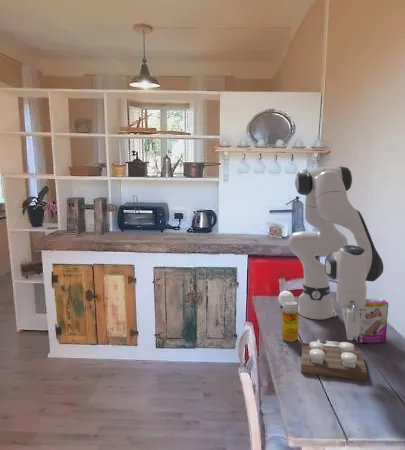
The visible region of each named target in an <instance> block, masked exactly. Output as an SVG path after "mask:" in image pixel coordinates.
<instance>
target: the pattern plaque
mask: <svg viewBox="0 0 405 450" xmlns="http://www.w3.org/2000/svg"><path fill="white" fill-rule="evenodd" d="M316 342H320V343H323V344H324V345H325V346H335V347H339V346H340V343H341V342H342V341H340V342H339V341H332V340H323V339H317V341H316Z"/></svg>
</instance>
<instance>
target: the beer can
mask: <svg viewBox="0 0 405 450" xmlns="http://www.w3.org/2000/svg"><path fill="white" fill-rule="evenodd" d="M298 305H299V303H298V302H297V301H295V300H294V301H284V303H283V306H282V305H281V306H282V311H281V312H282V313H281V314H282V315H281V316H282V317H281V319H282V320H281V321H282V323H281V324H282V325H281V338H282V339H283V340H284V341H286V342H290V343H291V342H292V343H294V342H296V341H297V340H298V338H299V314H298Z"/></svg>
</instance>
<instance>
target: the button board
mask: <svg viewBox="0 0 405 450" xmlns="http://www.w3.org/2000/svg"><path fill="white" fill-rule="evenodd" d="M301 345H302V346H301V361H300V363H301V364H300V373H303V374H309V375H317V376H318V375H319V376H324V377H331V378H340V379H341V378H342V379H348V380H354V381H355V380H356V381H363V382H367V381H368V380H367V378H368V377H367V376H368V371H367V367H366V363H365V360H364V356H363V352H362V349H360V348H354V352H353V354H355V355H356V356H357V363H356V368H351V367H343V366H342V361H341V354H340V349H339V347H335V346H325V345H324V350H323V351H324V353H325V358H324V359H323V364H318V363H311V358H310V343H307V342H306V343H304V342H302V343H301Z"/></svg>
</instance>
